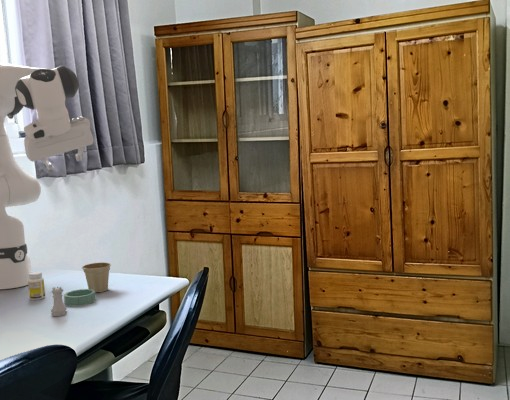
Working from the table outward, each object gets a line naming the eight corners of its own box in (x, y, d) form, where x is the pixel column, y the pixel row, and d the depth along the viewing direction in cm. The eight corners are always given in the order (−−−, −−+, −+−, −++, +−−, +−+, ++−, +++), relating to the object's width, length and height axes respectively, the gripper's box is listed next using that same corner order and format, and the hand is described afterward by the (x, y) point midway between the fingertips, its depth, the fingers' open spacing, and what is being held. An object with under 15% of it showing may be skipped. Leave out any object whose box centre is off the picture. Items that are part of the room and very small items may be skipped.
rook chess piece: (48, 314, 172) (46, 288, 171) (62, 311, 175) (60, 285, 175) (55, 317, 169) (53, 290, 168) (70, 314, 172) (67, 287, 171)
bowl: (58, 303, 184) (57, 295, 183) (81, 296, 191) (81, 287, 191) (78, 307, 179) (77, 298, 178) (101, 299, 186) (100, 290, 186)
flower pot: (105, 294, 192) (103, 268, 191) (78, 294, 194) (76, 268, 193) (117, 287, 201) (115, 262, 200) (92, 286, 203) (90, 262, 202)
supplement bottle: (38, 295, 195) (36, 270, 194) (48, 297, 193) (46, 271, 192) (26, 299, 191) (24, 273, 190) (36, 300, 189) (34, 275, 188)
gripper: (84, 111, 184) (92, 151, 191) (18, 129, 174) (29, 170, 182) (92, 118, 179) (100, 158, 186) (24, 136, 170) (35, 178, 177)
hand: (64, 164), depth 184 cm, fingers open, 8 cm apart
